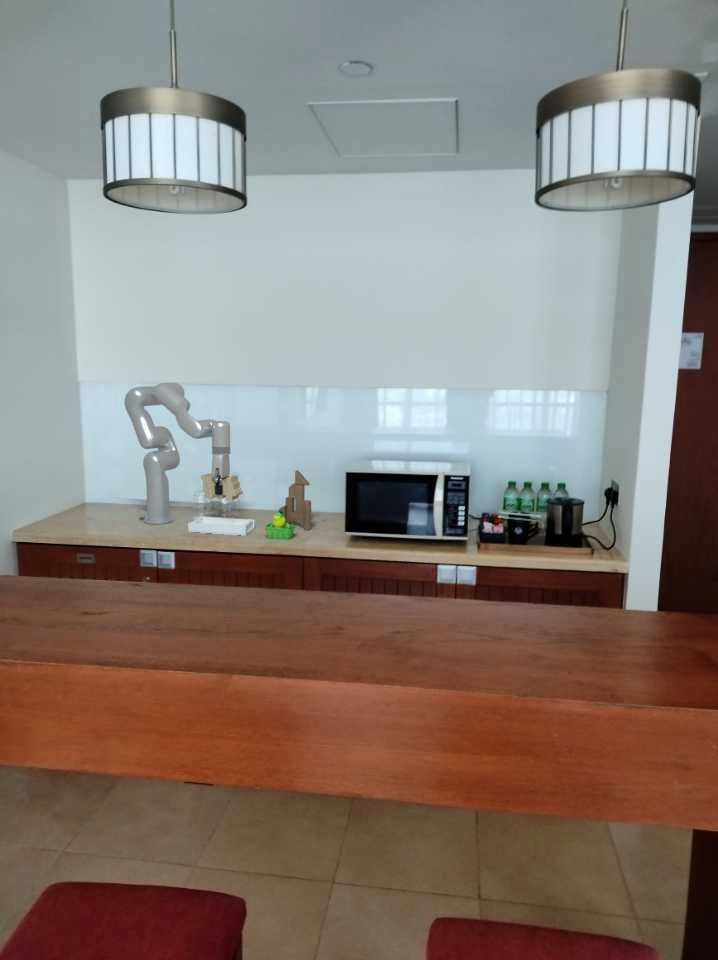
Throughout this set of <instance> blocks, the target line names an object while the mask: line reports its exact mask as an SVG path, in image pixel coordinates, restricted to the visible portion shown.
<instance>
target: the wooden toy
mask: <svg viewBox="0 0 718 960" xmlns="http://www.w3.org/2000/svg"><path fill="white" fill-rule="evenodd" d="M294 473H295V475H294V483H291V485H290V486H289V487H288V496H287V497H285V505H283V506H281V507H280V508H279V509H278V511H277V513H281V514H282V516H283V517H284V518H285V519H286V521H285V524H286V523H288V524H292V521H297V522H298V523H299V525H300V528H302V529H303V530H304V531H311V530H312V500H310V499H305V489H306V488H305V486H310V482H309V481H308V480H307V479H306V478H305V477H304V475H303V474H302V473H301V471H299V470H298V469H297V470H295V471H294Z"/></svg>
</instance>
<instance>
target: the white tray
mask: <svg viewBox="0 0 718 960" xmlns="http://www.w3.org/2000/svg"><path fill="white" fill-rule="evenodd" d="M187 526H188V529H187V530H188V533H190V532H200V533H199V534H206V533H212V534H211V535H221V534H224V536H237V535H241V536H240V537H246V536H247V534H248V535H249V534H251V532H252V530H253V531H254V530H255V529H256V519H252V518H251V519H250V518H236V517H235V518H233V517H221V516H218V517H216V516H202V515H200V516H198V517H197V518H196V519H194V520H192V521H190V522H188V523H187Z"/></svg>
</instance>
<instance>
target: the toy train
mask: <svg viewBox="0 0 718 960" xmlns="http://www.w3.org/2000/svg"><path fill="white" fill-rule="evenodd" d="M218 478H221V477H218ZM200 479H201V480H202V493H203V494H204V497H205V498H206V499H208V500H211V499H214V498H215V499H216V500H223V499H226V501H227V502H230V501H234V500H236V499H238V498H239V497H240V495H243V494H244V491H243V489H242V488H241V482H240V481H239V479H238V475H232V476H229V477H226V478H223V479H222V485H223V494H222V495H216V494H215V482H214V478H212V473H205V474H203V475H200ZM219 481H220V480H219Z"/></svg>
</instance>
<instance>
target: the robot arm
mask: <svg viewBox="0 0 718 960" xmlns="http://www.w3.org/2000/svg"><path fill="white" fill-rule="evenodd" d="M161 405H162V406H163V407H164V408H165V409H167V410H168V411H169V412H170V413H172V414H173V415H174V417H175V420H176V423H177V425H178V427H179V428H180V429H181V430H182V431H183V432H184V433H185V434H186V435H188V436H189V437H190V438H193V439H196V440H197V439H198V440H200V439H206V438H207V439H208V438H211V455H212V460H211V474H212V478H214V482H215V494H216V495H222V494H223V485H222V479H223V478H226V477H230V473H231V463H230V455H231V423H230V422H229V421H225V420H215V419H212V418H211V419H208V418H207V419H198V420H197V419H196V418H194V417H193V416H191V414H190V413H188V412H189V411H190V408H191V402H190V401H189V400H188V399H187V398H186V397H185V389H184V387H183V386H182V385H181V384H180V383H178V382H160V383H158V384H156V385H155V386H153V385H151V386H136V387H132V388H131V389H129V390H128V392H127V393H126V394H125V396H124V408H125V411H126V413H127V415H128V417H129V419H130V422H131V423H132V426H133V429H134V431H135V435H136V438H137V440H138V443H139V446H140V447H141V448H143V450H153V451H149V452H148V453H146V454H145V456H144V457H143V460H142V464H143V470H144V474H145V483H146V485H145V487H146V488H145V489H146V511H145V510H140V511H139V516H140V517H144V518H143V522H144V523H145V524H148V525H161V524H163V525H165V524H169V523H172V522H174V517H173V516H171V515H170V486H169V478H168V476H167V474H166V472H167V471H171V470H175V469H176V468H178V466H180V461H181V457H180V453H179V451H178V448H177V444H176V442H175V440H174V436H173V435H172V432H171V431H170V430H169V428H167V427H165V426H162V425H158V426H156V425H155V423H154V421H153V418H152V416H151V414H150V413H149V411H148V410H147V409H146V408H145V407H150V406H151V407H152V406H153V407H154V406H161ZM154 449H157V450H154ZM218 477H221V478H218ZM219 480H220V481H219Z"/></svg>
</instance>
